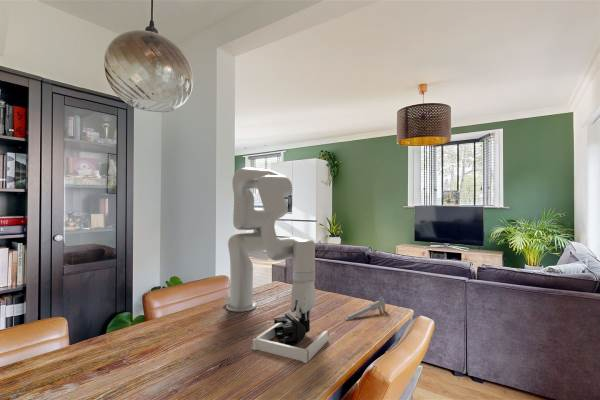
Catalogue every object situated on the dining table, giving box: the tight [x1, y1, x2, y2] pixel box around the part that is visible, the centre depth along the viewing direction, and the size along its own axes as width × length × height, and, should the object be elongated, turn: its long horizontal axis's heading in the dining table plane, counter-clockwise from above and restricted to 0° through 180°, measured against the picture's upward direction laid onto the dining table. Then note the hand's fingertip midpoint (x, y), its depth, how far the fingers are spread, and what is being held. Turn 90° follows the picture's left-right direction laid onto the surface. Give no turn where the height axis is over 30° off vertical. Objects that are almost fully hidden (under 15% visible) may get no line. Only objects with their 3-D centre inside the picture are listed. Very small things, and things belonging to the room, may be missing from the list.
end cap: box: [273, 313, 307, 347], centre depth 99 cm, size 10×7×7 cm
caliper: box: [344, 296, 386, 321], centre depth 122 cm, size 20×1×6 cm, turn 120°
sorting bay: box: [252, 323, 329, 364], centre depth 96 cm, size 18×16×3 cm
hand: (304, 331), depth 103 cm, fingers closed
